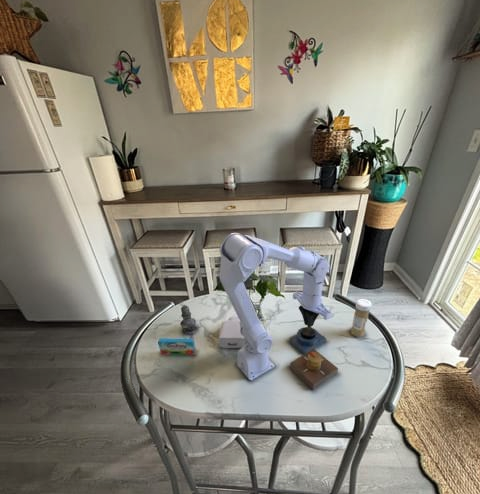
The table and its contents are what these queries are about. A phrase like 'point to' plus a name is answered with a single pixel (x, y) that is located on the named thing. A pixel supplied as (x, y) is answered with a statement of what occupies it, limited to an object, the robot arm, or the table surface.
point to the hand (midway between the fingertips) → (308, 324)
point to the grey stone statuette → (187, 321)
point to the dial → (314, 361)
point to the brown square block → (313, 376)
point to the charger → (231, 334)
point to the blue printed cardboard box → (177, 346)
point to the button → (308, 333)
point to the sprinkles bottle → (360, 317)
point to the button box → (306, 341)
